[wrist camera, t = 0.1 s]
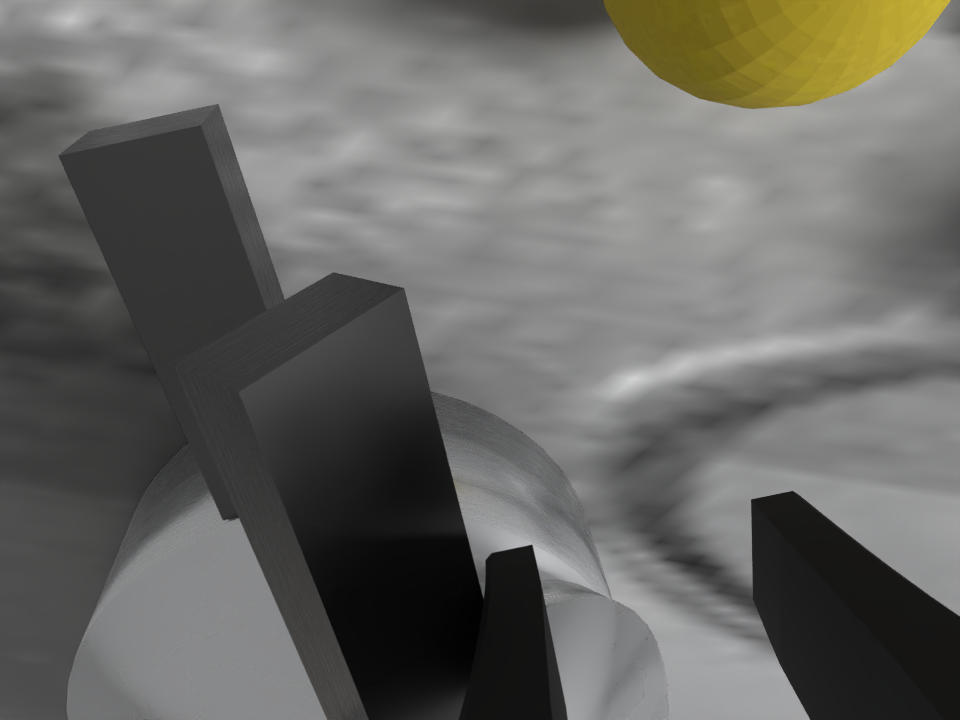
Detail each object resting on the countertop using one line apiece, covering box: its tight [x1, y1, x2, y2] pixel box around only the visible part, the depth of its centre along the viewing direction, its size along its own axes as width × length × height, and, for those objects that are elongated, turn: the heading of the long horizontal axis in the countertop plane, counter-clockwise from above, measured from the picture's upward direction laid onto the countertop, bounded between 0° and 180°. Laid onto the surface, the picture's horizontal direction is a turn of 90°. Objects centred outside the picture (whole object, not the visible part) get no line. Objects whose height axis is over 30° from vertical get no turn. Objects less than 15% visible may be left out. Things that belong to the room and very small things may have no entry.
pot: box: [59, 104, 612, 720], centre depth 21 cm, size 22×14×5 cm, turn 11°
